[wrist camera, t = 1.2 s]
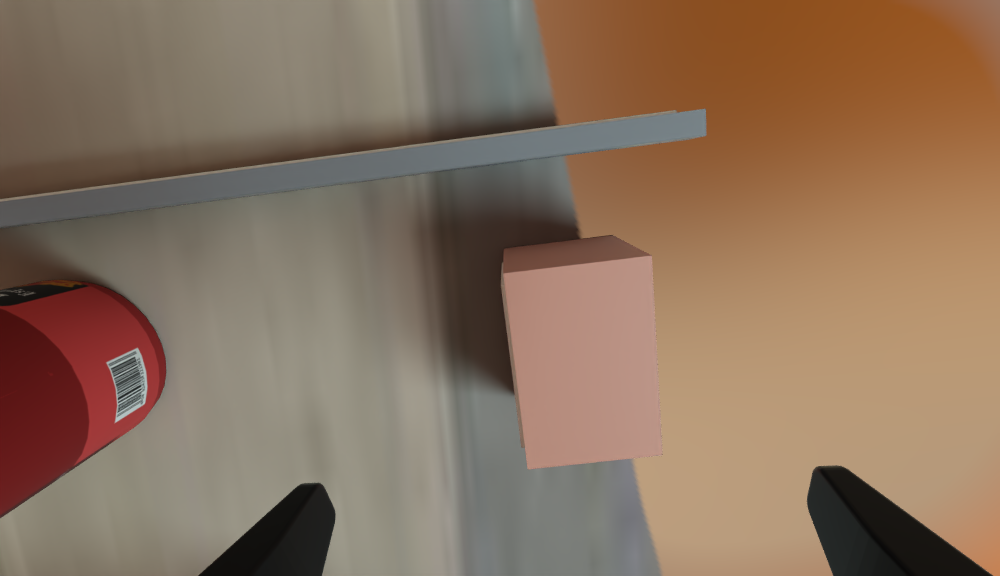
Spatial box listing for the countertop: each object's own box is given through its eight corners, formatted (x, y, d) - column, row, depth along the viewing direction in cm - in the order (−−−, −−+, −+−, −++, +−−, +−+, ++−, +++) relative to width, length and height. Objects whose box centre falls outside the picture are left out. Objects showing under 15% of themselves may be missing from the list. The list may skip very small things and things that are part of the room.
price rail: (687, 139, 21) (706, 135, 19) (-15, 230, 22) (-65, 235, 20) (686, 112, 20) (705, 105, 18) (-23, 205, 22) (-76, 208, 20)
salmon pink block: (612, 234, 22) (651, 255, 16) (623, 386, 23) (662, 455, 18) (500, 248, 22) (498, 274, 16) (518, 397, 24) (523, 469, 18)
